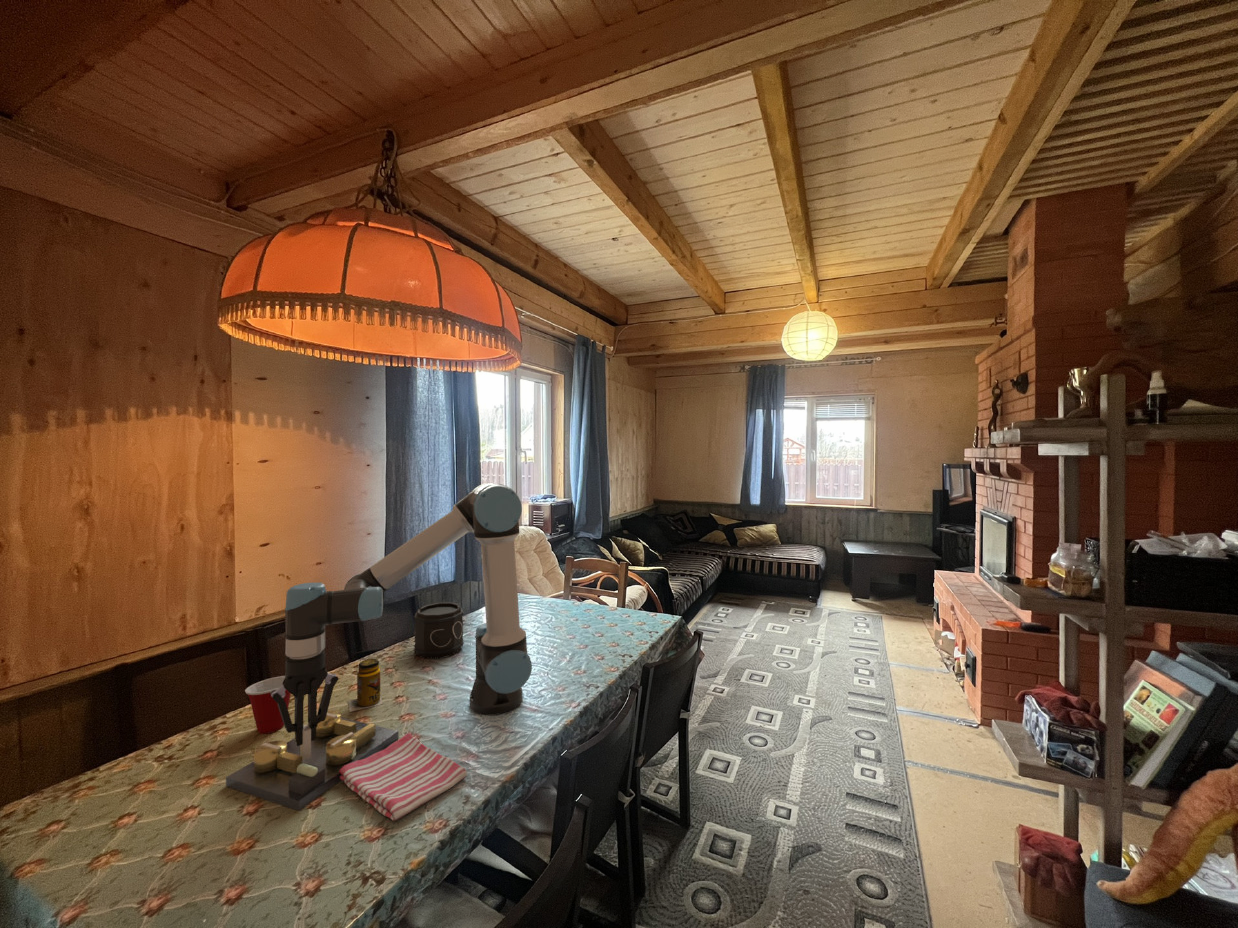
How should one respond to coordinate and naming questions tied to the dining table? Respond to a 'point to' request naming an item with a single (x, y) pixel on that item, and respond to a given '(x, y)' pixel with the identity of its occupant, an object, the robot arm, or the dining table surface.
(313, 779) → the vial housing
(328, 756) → the knob
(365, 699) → the condiment
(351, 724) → the knob
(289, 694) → the plastic cup
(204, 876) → the dining table surface
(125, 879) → the dining table surface
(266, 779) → the levelling plate
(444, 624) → the dark lidded canister
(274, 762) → the knob
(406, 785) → the dish towel
